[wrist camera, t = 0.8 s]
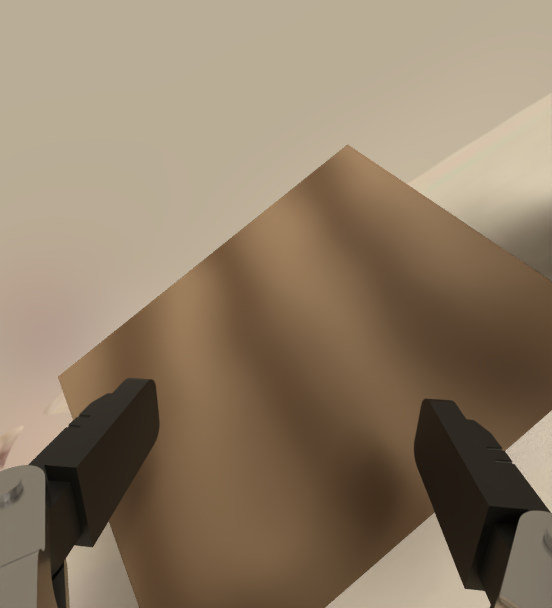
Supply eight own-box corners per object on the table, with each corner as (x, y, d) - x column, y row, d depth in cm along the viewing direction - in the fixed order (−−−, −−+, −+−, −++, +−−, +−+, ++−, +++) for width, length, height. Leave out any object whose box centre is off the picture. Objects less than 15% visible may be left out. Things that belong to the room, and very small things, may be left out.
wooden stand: (365, 308, 39) (347, 144, 18) (473, 413, 32) (635, 337, 12) (232, 419, 38) (57, 376, 18) (313, 550, 32) (182, 730, 11)
